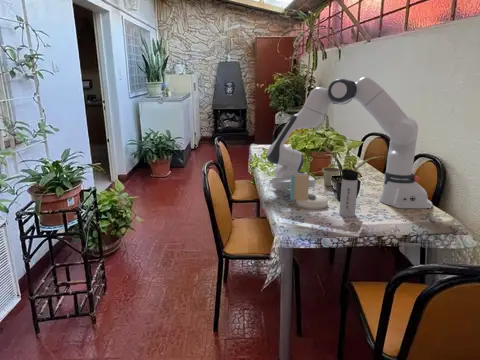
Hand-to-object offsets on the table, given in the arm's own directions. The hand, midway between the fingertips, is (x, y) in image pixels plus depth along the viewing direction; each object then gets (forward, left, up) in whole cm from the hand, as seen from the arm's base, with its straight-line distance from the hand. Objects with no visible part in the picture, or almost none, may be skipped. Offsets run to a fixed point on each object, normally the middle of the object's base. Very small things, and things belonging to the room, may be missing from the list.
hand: (298, 187), depth 165 cm
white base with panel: (-5, 0, -8) cm, 9 cm away
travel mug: (-21, +8, -9) cm, 24 cm away
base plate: (-6, -1, -9) cm, 11 cm away
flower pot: (-14, -39, -9) cm, 42 cm away
